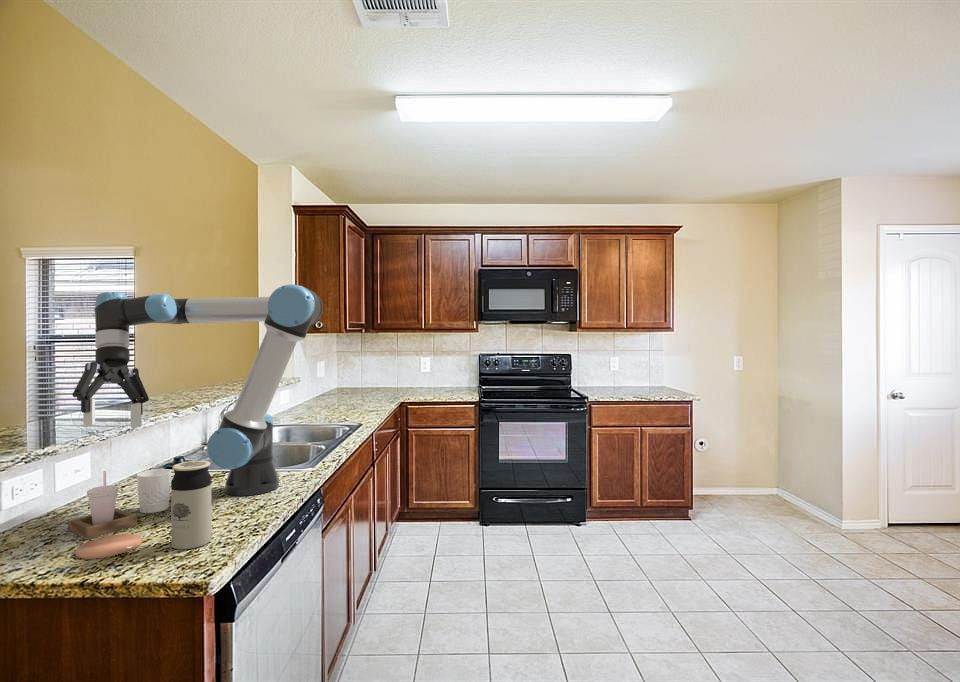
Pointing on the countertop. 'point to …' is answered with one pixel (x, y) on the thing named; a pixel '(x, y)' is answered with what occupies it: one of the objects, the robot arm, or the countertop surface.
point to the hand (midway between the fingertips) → (113, 426)
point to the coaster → (108, 546)
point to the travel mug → (190, 505)
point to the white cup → (154, 490)
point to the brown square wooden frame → (88, 531)
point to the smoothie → (102, 502)
